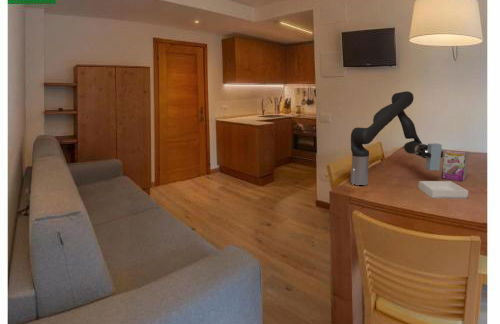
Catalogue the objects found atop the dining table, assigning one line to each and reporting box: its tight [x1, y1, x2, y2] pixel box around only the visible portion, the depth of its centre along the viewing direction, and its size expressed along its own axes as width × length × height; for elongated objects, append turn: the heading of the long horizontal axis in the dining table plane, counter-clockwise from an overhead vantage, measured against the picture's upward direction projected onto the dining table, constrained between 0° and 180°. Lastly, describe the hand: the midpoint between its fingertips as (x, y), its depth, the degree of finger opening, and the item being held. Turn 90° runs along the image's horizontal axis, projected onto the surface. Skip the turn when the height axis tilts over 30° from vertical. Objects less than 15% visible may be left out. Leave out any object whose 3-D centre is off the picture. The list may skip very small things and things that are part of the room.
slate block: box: [425, 142, 443, 171], centre depth 170 cm, size 5×5×14 cm
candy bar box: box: [441, 150, 469, 182], centre depth 184 cm, size 11×5×16 cm, turn 41°
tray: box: [418, 180, 469, 200], centre depth 161 cm, size 16×18×4 cm
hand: (436, 155), depth 168 cm, fingers closed on slate block, 5 cm apart
